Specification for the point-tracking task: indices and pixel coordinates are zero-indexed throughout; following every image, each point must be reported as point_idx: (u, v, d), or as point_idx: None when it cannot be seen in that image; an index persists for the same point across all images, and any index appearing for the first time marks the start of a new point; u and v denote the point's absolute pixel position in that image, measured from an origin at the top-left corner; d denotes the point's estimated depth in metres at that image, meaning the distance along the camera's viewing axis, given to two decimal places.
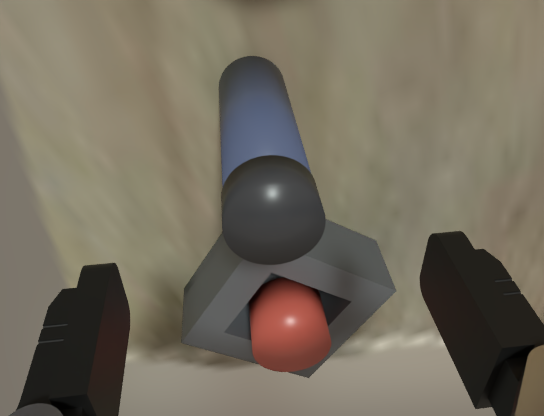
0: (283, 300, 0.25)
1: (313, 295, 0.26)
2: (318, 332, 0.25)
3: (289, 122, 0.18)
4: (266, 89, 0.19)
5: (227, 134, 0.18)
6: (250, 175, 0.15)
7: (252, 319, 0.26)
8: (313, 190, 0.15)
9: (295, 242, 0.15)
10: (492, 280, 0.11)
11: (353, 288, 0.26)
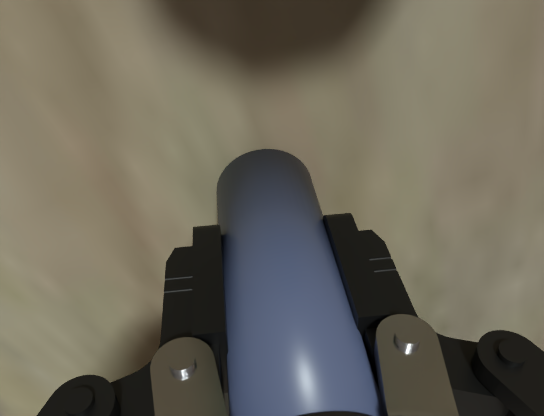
0: None
1: None
2: None
3: (338, 295, 0.11)
4: (294, 223, 0.12)
5: (236, 319, 0.11)
6: None
7: None
8: None
9: None
10: (366, 257, 0.12)
11: None
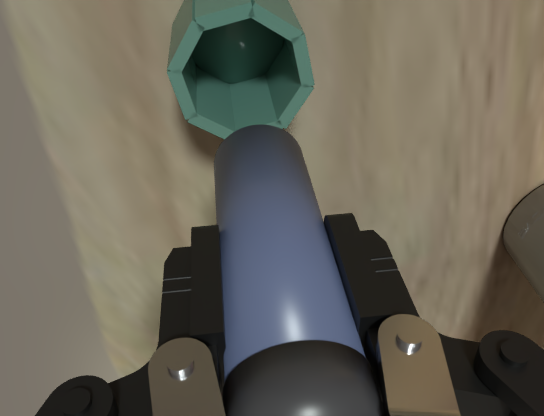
0: None
1: None
2: None
3: (323, 250, 0.12)
4: (284, 188, 0.13)
5: (229, 270, 0.12)
6: (273, 389, 0.09)
7: None
8: (378, 409, 0.09)
9: None
10: (368, 257, 0.12)
11: None
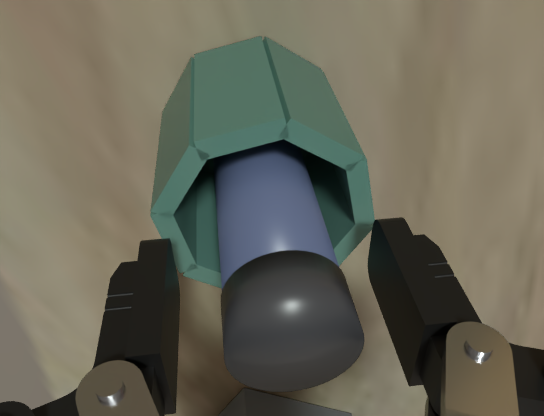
0: None
1: None
2: None
3: (306, 189, 0.14)
4: None
5: (226, 206, 0.14)
6: (262, 284, 0.11)
7: None
8: (348, 302, 0.11)
9: (321, 366, 0.11)
10: (425, 263, 0.11)
11: None
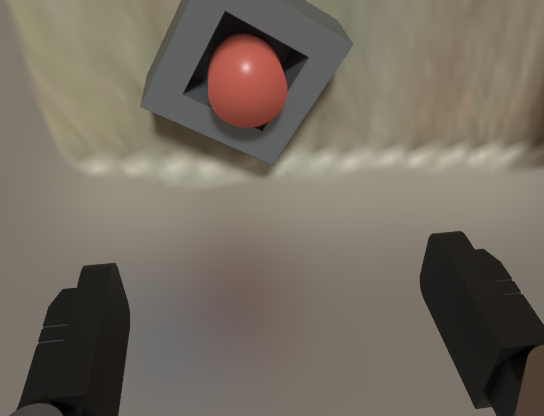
0: (238, 43, 0.25)
1: (270, 47, 0.26)
2: (273, 71, 0.25)
3: None
4: None
5: None
6: None
7: (208, 69, 0.26)
8: None
9: None
10: (492, 280, 0.11)
11: (309, 38, 0.26)
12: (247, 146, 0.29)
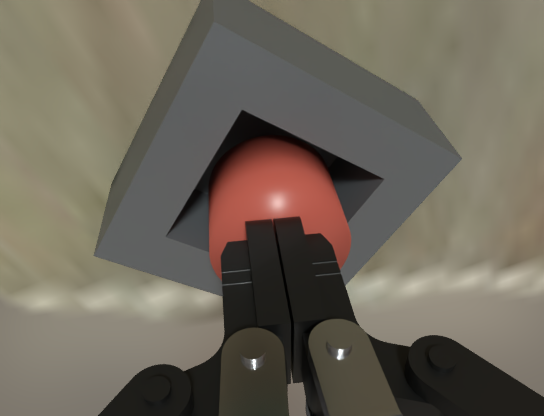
0: (265, 163, 0.14)
1: (318, 164, 0.15)
2: (329, 218, 0.13)
3: None
4: None
5: None
6: None
7: (211, 204, 0.15)
8: None
9: None
10: (309, 261, 0.12)
11: (389, 151, 0.15)
12: None
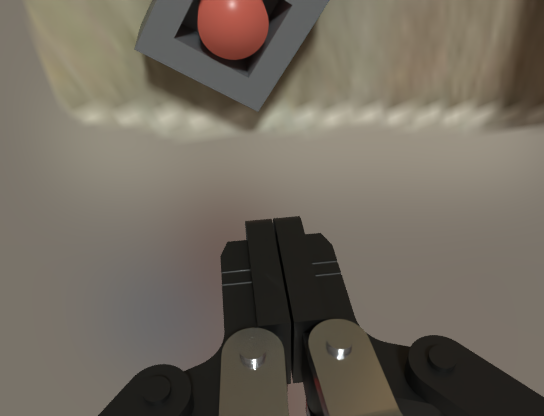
0: None
1: None
2: (256, 5, 0.28)
3: None
4: None
5: None
6: None
7: (199, 6, 0.29)
8: None
9: None
10: (309, 261, 0.12)
11: None
12: (234, 92, 0.31)
